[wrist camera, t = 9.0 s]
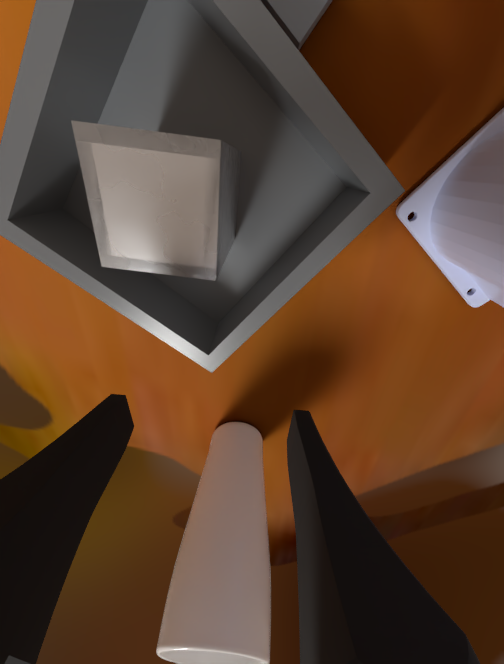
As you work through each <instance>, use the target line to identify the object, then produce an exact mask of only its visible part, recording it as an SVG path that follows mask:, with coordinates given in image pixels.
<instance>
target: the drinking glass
mask: <svg viewBox="0 0 504 664" xmlns="http://www.w3.org/2000/svg"><path fill="white" fill-rule="evenodd" d="M270 629H271V579H270V556H269V541H268V527H267V513H266V499H265V484H264V469H263V439H262V436H261V434H260V432H259V431H258V430H257V429H256V428H255V427H253V426H251V425H249V424H247V423H243V422H228V423H225V424H222V425H221V426H219V427H218V428H217V429H216V430H215V431H214V433H213V435H212V439H211V444H210V449H209V452H208V456H207V459H206V463H205V466H204V470H203V473H202V476H201V480H200V483H199V486H198V490H197V493H196V496H195V500H194V503H193V506H192V509H191V513H190V516H189V519H188V523H187V526H186V529H185V533H184V536H183V539H182V542H181V546H180V549H179V553H178V556H177V560H176V563H175V567H174V571H173V575H172V579H171V583H170V587H169V592H168V597H167V601H166V605H165V611H164V615H163V620H162V625H161V631H160V635H159V640H158V645H157V655H158V656H159V657H160V658H162V659H165V660H168V661H171V662H174V663H178V664H269V662H270Z"/></svg>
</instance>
